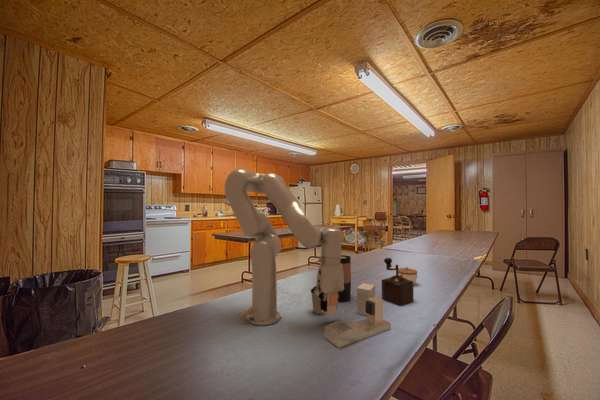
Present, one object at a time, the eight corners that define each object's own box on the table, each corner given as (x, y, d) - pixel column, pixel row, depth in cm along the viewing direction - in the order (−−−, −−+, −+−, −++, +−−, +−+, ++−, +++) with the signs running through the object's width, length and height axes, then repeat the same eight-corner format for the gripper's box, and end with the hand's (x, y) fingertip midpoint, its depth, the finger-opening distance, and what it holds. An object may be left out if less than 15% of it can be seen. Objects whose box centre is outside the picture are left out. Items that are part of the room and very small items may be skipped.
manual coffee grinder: (415, 301, 121) (415, 262, 122) (400, 306, 115) (399, 265, 116) (387, 292, 134) (387, 256, 135) (372, 296, 128) (372, 259, 129)
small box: (362, 306, 115) (362, 282, 115) (375, 309, 112) (375, 284, 112) (356, 313, 108) (356, 287, 108) (370, 316, 105) (370, 289, 105)
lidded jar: (392, 282, 151) (392, 266, 151) (408, 280, 154) (408, 264, 154) (405, 288, 141) (405, 270, 141) (421, 286, 144) (421, 268, 144)
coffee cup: (326, 316, 105) (326, 290, 106) (309, 314, 107) (309, 289, 107) (328, 309, 112) (328, 285, 112) (312, 308, 114) (312, 284, 114)
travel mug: (350, 296, 127) (350, 255, 128) (351, 302, 120) (351, 258, 120) (334, 296, 128) (334, 255, 129) (334, 301, 121) (334, 258, 121)
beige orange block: (321, 311, 100) (322, 290, 100) (329, 309, 102) (330, 288, 102) (329, 316, 96) (330, 294, 96) (337, 314, 98) (338, 292, 98)
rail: (338, 348, 82) (338, 315, 82) (324, 337, 88) (324, 307, 88) (390, 328, 94) (390, 300, 95) (374, 321, 101) (374, 294, 101)
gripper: (318, 264, 92) (316, 317, 92) (354, 261, 101) (352, 309, 101) (306, 260, 98) (304, 309, 98) (341, 257, 107) (339, 302, 107)
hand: (328, 308), depth 99 cm, fingers closed on beige orange block, 4 cm apart
